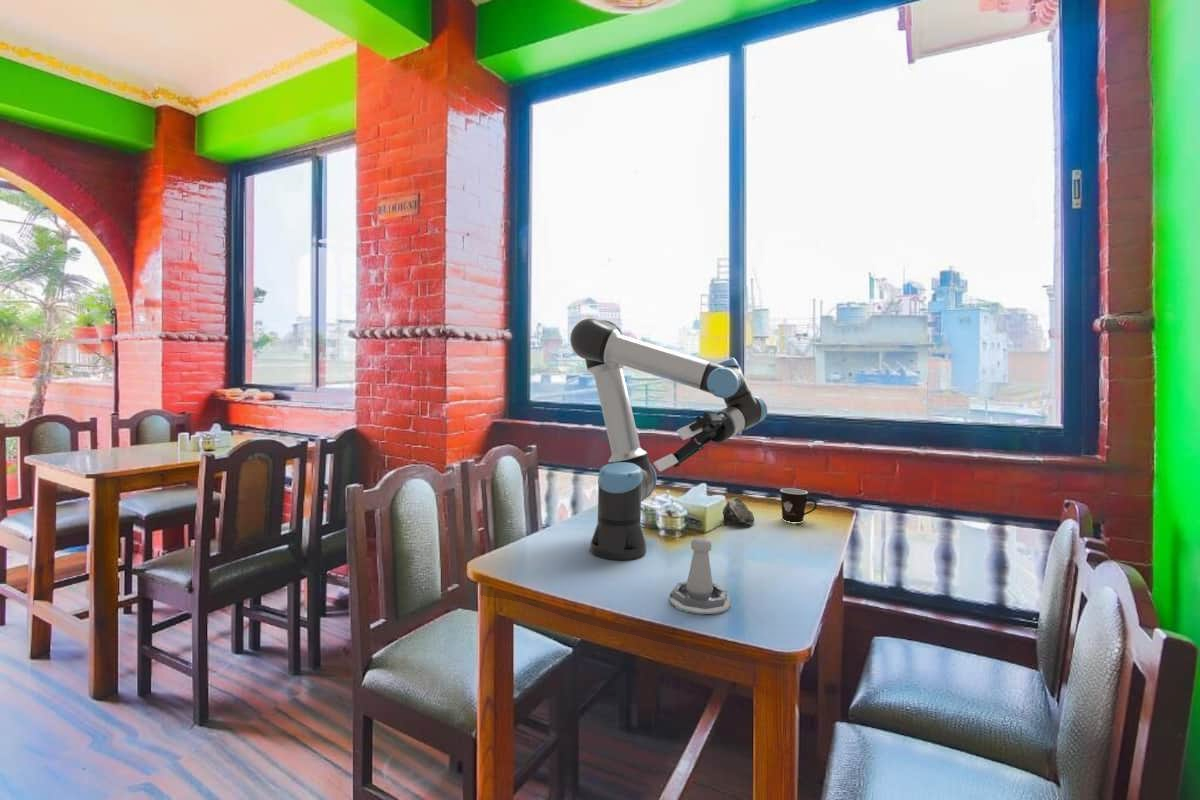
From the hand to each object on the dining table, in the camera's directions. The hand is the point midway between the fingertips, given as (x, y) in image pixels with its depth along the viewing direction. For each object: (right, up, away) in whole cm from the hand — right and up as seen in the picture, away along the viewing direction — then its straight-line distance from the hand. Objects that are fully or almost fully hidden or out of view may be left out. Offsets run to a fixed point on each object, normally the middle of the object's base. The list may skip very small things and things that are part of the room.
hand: (668, 451), depth 143 cm
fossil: (+28, -28, +49) cm, 63 cm away
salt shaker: (+5, -31, -14) cm, 34 cm away
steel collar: (+5, -31, -14) cm, 35 cm away
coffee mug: (+48, -28, +52) cm, 76 cm away
